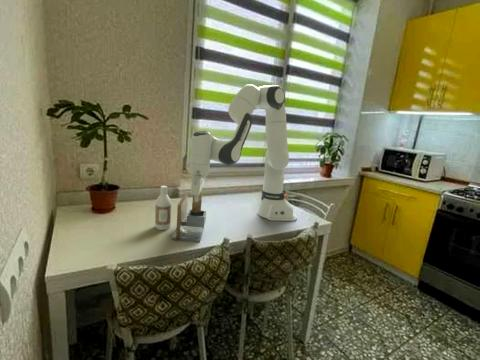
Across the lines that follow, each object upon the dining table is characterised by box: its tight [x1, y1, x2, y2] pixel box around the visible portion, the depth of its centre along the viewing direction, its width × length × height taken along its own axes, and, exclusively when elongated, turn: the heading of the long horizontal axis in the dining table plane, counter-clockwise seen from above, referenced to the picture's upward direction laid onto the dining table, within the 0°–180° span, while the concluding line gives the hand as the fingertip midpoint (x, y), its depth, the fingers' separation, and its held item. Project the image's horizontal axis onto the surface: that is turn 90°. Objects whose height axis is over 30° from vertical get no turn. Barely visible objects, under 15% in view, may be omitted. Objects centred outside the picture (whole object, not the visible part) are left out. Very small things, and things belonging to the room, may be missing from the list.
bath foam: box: [154, 185, 172, 231], centre depth 129 cm, size 7×7×20 cm
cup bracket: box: [171, 193, 207, 243], centre depth 126 cm, size 13×16×16 cm
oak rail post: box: [191, 186, 204, 213], centre depth 124 cm, size 4×4×12 cm
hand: (197, 199), depth 124 cm, fingers closed on oak rail post, 4 cm apart
